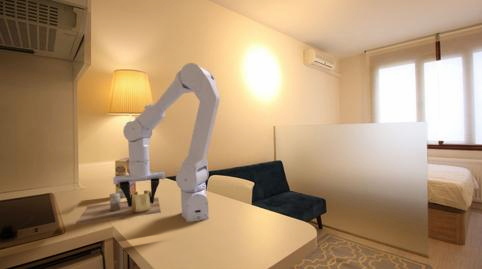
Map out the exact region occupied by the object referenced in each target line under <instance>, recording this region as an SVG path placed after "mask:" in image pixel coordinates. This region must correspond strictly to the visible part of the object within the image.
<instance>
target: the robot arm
mask: <svg viewBox="0 0 482 269" xmlns="http://www.w3.org/2000/svg"><path fill="white" fill-rule="evenodd" d="M216 82H217V80H216V78H215V77H214V76H213V74H212V73H211V72H210V70H209V71H208V70H207V69H205V68H204V67H201V66H199V65H198V64H197V63H194V62H188V63H186V64H184V65H183V66H182V68H181V69H180V70H179V71H178V72H177V73H176V75H175V78H174V79H173V81H172V82H171V84H169V86H168V88H166V89H165V91H164V92H163V94H162V95H161V96H160V97H159V99H158V100H157V101H156V103H149V104H146V105H145V106H143V107H144V110H143V111H141V113H140V114H139V115H138V116H136V117H135V118H134V120H133V121H131V120H130V121H128V122H126V123H125V125H124V127H123V132H122V133H123V137H124V138H125V139H126V140H127V141H128V143H127V144H128V145H127V146H128V158H129V169H130V175H124V176H117V177H115V176H113V179H112V180H113V181H112V182H113V185H115V184H118V183H120V188H121V190H122V191H123V193H124V195H125V197H126V198H125V199H126V201H127V203H128V207H131V196H130V182H144V181H146V182H147V181H150V192H151V204H153V203H154V198H155V196H156V191H157V189H158V188H159V184H160V180H165V179H166V174H165V172H164V171H162V172H151V171H150V170H151V169H150V151H149V150H150V149H149V148H150V147H149V144H150V140H151V139H150V138H151V137H152V135H153V131H154V129H155V128H156V127H157V126H158V125H159V124H160V123H161V121H163V119H164V118H165V117H166V111H167V110H168V109H169V108H170V107H171V106H172V105H173V104H174V103H175V102H176V101H177V100H179V98H180V97H181V96H182V95H183V94H188V93H189V94H190V93H194V95H195V97H196V98H197V99H198V100H199V104H198V109H197V113H196V117H195V122H194V125H193V130H192V135H191V139H190V145H189V149H188V152H187V153H188V154H187V156H186V158H185V159H184V160H183V162H182V165H181V167H180V169H179V171H178V172H177V173H176V176H175V183H176V185H177V187H178V188H179V189H180V198H181V199H180V202H181V207H180V208H181V216H182V218H183V219H185V221H186V223H192V222H199V221H203V220H209V219H210V215H209V200H208V197H207V185H206V181H207V180H208V179H209V168H208V166H209V161H208V158H207V157H208V152H209V148H210V145H211V140H212V134H213V131H214V125H215V122H216V118H217V113H218V109H219V105H220V100H221V99H220V98H221V97H220V94H219V91H218V87H217V83H216Z"/></svg>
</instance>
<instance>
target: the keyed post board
mask: <svg viewBox="0 0 482 269" xmlns="http://www.w3.org/2000/svg"><path fill="white" fill-rule="evenodd" d="M160 213H162V211H161V207H160V200H159V197H158V196H156V197H155V196H154V203H153V204H151V208H150V209H149V210H147V211H142V212H132V211H131V207H128V203H127V200H124V201H121V198H120V193H116V192H113V193H111V194H109V203H101V204H94V205H88V206H87V207H86V208H85V209H84V211H83V212H82V213H81V215H80V217H79V218H78V219H77V221H76V222H75V223H74V227H75V226H80V225H86V224H87V225H88V224H94V223H95V224H96V223H99V222H101V223H102V222H108V221H114V220H119V219H120V220H121V219H126V218H133V217H140V216H147V215H154V214H160Z"/></svg>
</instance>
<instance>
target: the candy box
mask: <svg viewBox="0 0 482 269" xmlns="http://www.w3.org/2000/svg"><path fill="white" fill-rule="evenodd" d="M114 163H115V164H114V168H115V173H114V177H117V176H124V175H130V169H129V157H125V158H121V159H118V160H115V161H114ZM114 185H115V193H120V199H126V197H125V195H124V193H123V191H122V190H121V188H120V183H118V184H114ZM136 185H137V184H136V182H130V194H131V193H133V192H136V190H137V188H136V187H137V186H136Z"/></svg>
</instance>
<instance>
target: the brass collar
mask: <svg viewBox="0 0 482 269" xmlns="http://www.w3.org/2000/svg"><path fill="white" fill-rule="evenodd" d="M138 193H139V192H138V191H136V192H133V193H131V194H130V197H131V211H132V212H142V211H147V210H149V209H150V208H151V190H143V193H142V194H138Z"/></svg>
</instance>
